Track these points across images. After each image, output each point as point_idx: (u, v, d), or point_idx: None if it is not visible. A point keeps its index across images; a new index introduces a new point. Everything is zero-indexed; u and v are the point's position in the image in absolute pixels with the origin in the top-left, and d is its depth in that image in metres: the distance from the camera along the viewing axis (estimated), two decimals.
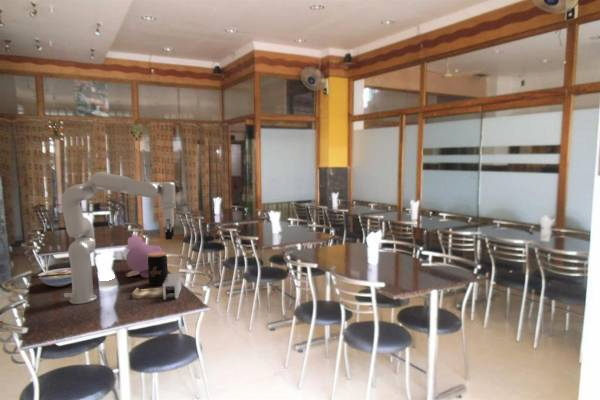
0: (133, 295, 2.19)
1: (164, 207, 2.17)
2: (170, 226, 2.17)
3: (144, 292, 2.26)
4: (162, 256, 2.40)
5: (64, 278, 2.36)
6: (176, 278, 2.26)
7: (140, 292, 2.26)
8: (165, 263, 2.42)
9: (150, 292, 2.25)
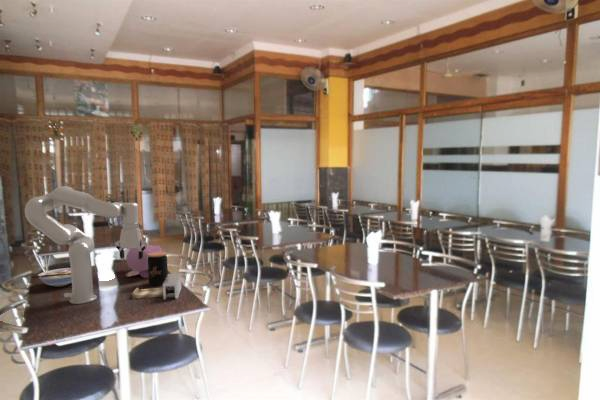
0: (133, 295, 2.19)
1: (135, 228, 2.18)
2: (140, 245, 2.21)
3: (144, 292, 2.26)
4: (162, 256, 2.40)
5: (64, 278, 2.36)
6: (176, 278, 2.26)
7: (140, 292, 2.26)
8: (165, 263, 2.42)
9: (150, 292, 2.25)
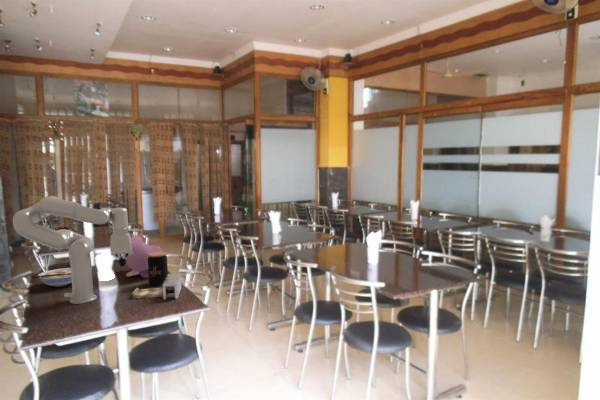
0: (133, 295, 2.19)
1: (126, 232, 2.18)
2: (131, 250, 2.22)
3: (144, 292, 2.26)
4: (162, 256, 2.40)
5: (64, 278, 2.36)
6: (176, 278, 2.26)
7: (140, 292, 2.26)
8: (165, 263, 2.42)
9: (150, 292, 2.25)
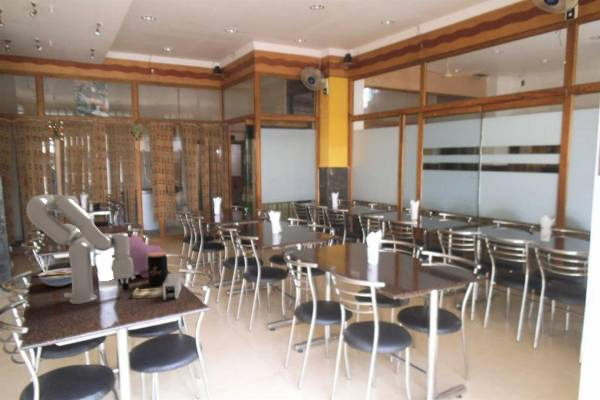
0: (133, 295, 2.19)
1: (128, 257, 2.20)
2: (134, 274, 2.24)
3: (144, 292, 2.26)
4: (162, 256, 2.40)
5: (64, 278, 2.36)
6: (176, 278, 2.26)
7: (140, 292, 2.26)
8: (165, 263, 2.42)
9: (150, 292, 2.25)
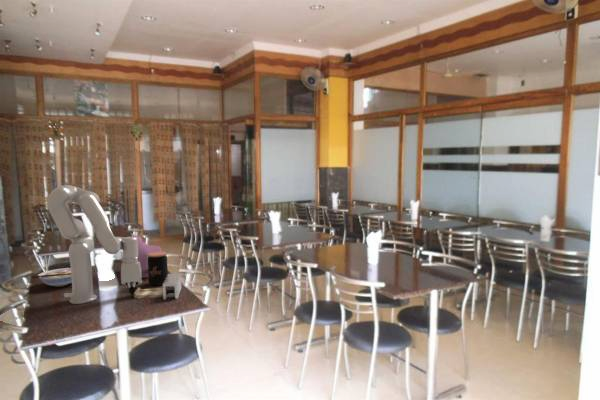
0: (135, 295, 2.19)
1: (137, 261, 2.21)
2: None
3: (146, 292, 2.26)
4: (162, 256, 2.40)
5: (64, 278, 2.36)
6: (176, 278, 2.26)
7: (142, 292, 2.26)
8: (165, 263, 2.42)
9: (152, 292, 2.26)
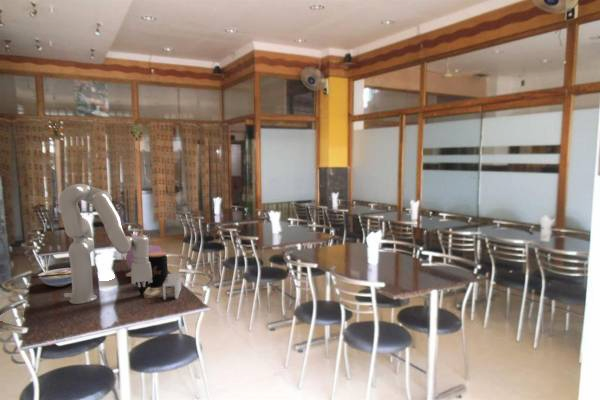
0: (145, 294, 2.19)
1: (147, 261, 2.21)
2: None
3: (155, 291, 2.26)
4: (162, 256, 2.40)
5: (64, 278, 2.36)
6: (176, 278, 2.26)
7: (151, 291, 2.27)
8: (165, 263, 2.42)
9: (161, 291, 2.26)
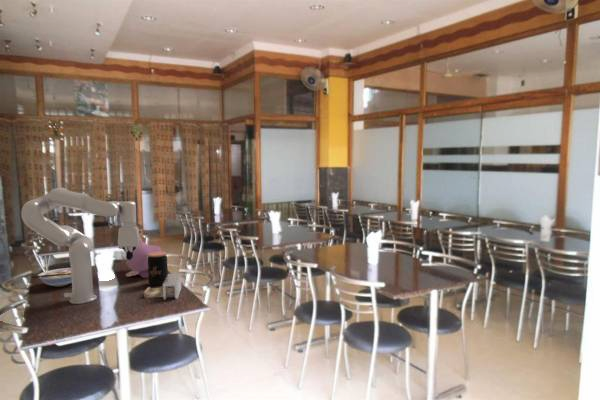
0: (145, 294, 2.19)
1: (134, 226, 2.19)
2: (138, 243, 2.23)
3: (155, 291, 2.26)
4: (162, 256, 2.40)
5: (64, 278, 2.36)
6: (176, 278, 2.26)
7: (151, 291, 2.27)
8: (165, 263, 2.42)
9: (161, 291, 2.26)
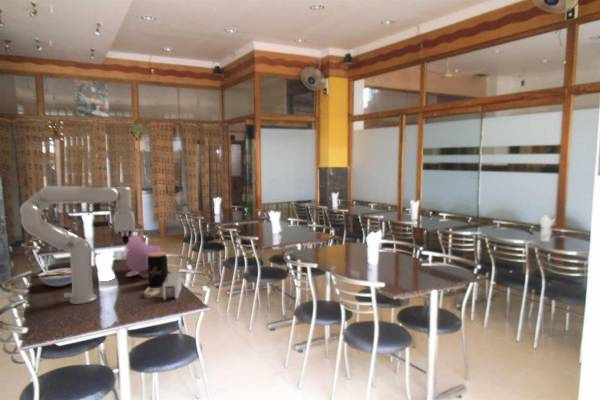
0: (145, 294, 2.19)
1: (130, 210, 2.25)
2: (134, 228, 2.29)
3: (155, 291, 2.26)
4: (162, 256, 2.40)
5: (64, 278, 2.36)
6: (176, 278, 2.26)
7: (151, 291, 2.27)
8: (165, 263, 2.42)
9: (161, 291, 2.26)
